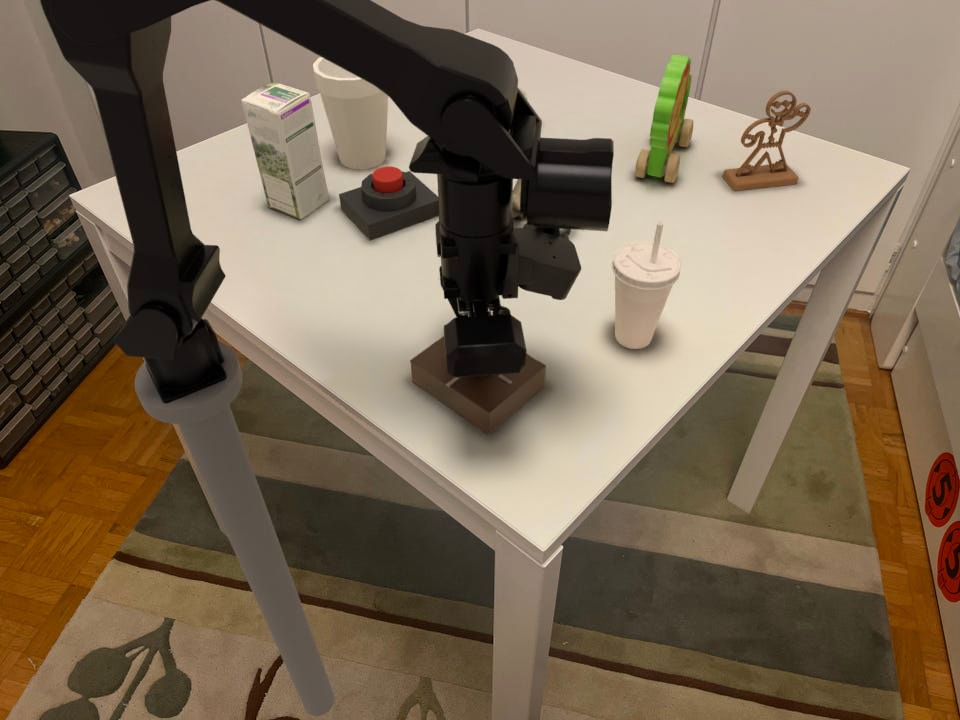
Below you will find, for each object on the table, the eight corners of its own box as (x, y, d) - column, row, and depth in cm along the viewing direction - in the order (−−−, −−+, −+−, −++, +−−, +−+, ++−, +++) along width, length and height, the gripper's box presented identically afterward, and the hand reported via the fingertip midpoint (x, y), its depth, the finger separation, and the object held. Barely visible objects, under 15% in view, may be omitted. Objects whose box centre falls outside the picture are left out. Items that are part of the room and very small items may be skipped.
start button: (382, 197, 89) (380, 184, 88) (368, 184, 91) (367, 171, 90) (408, 188, 90) (407, 176, 89) (394, 175, 93) (393, 163, 91)
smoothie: (649, 366, 74) (674, 251, 64) (591, 343, 76) (606, 228, 66) (674, 329, 77) (701, 215, 68) (617, 308, 80) (635, 195, 70)
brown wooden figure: (733, 191, 96) (757, 102, 88) (721, 175, 99) (743, 87, 90) (797, 183, 97) (827, 95, 89) (783, 168, 100) (811, 81, 92)
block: (369, 240, 89) (366, 211, 86) (341, 209, 94) (336, 181, 91) (441, 214, 93) (440, 186, 90) (410, 185, 98) (408, 158, 95)
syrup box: (331, 199, 95) (312, 90, 85) (299, 222, 92) (276, 110, 82) (297, 187, 98) (275, 78, 87) (265, 208, 94) (238, 98, 84)
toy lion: (654, 134, 107) (672, 25, 96) (692, 140, 106) (715, 31, 95) (627, 189, 97) (644, 74, 86) (669, 198, 95) (692, 82, 84)
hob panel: (411, 382, 72) (409, 359, 70) (468, 339, 77) (468, 316, 74) (488, 435, 68) (488, 412, 65) (545, 386, 72) (547, 363, 70)
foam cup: (398, 140, 106) (390, 48, 97) (395, 174, 100) (386, 79, 91) (331, 141, 106) (317, 49, 97) (324, 175, 100) (307, 80, 90)
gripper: (601, 285, 52) (581, 429, 63) (557, 152, 66) (547, 290, 77) (443, 295, 52) (450, 438, 63) (431, 158, 65) (439, 297, 76)
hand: (477, 358), depth 70 cm, fingers closed on heat knob, 4 cm apart
